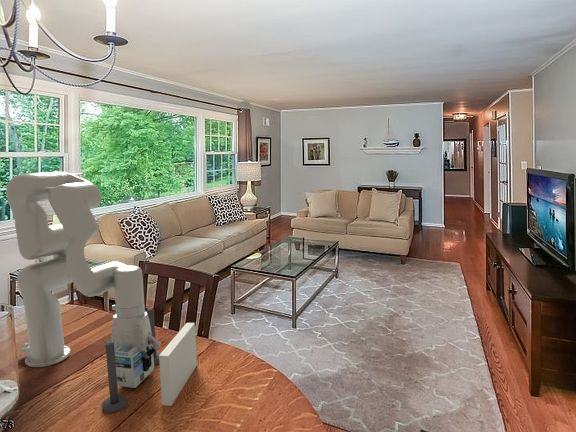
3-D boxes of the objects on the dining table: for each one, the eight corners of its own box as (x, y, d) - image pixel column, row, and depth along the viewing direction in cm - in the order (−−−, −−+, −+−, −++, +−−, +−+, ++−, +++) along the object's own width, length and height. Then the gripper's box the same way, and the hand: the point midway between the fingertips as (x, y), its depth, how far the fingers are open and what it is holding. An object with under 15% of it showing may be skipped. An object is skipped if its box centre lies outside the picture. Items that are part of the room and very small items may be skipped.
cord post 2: (140, 365, 124) (136, 312, 121) (148, 355, 130) (145, 305, 127) (158, 366, 123) (155, 313, 121) (166, 356, 129) (163, 306, 126)
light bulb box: (135, 388, 109) (132, 352, 108) (113, 386, 111) (110, 350, 109) (155, 368, 120) (153, 334, 118) (135, 366, 121) (132, 332, 119)
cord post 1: (97, 412, 101) (91, 349, 99) (110, 398, 107) (105, 338, 104) (119, 414, 101) (114, 351, 98) (131, 399, 107) (126, 339, 104)
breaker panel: (157, 404, 104) (154, 355, 102) (185, 364, 124) (183, 322, 122) (171, 405, 104) (168, 356, 102) (196, 365, 123) (194, 322, 121)
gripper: (93, 314, 109) (98, 373, 112) (154, 316, 107) (157, 377, 110) (108, 303, 116) (113, 359, 119) (165, 305, 115) (168, 363, 117)
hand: (134, 367), depth 115 cm, fingers closed on light bulb box, 7 cm apart
